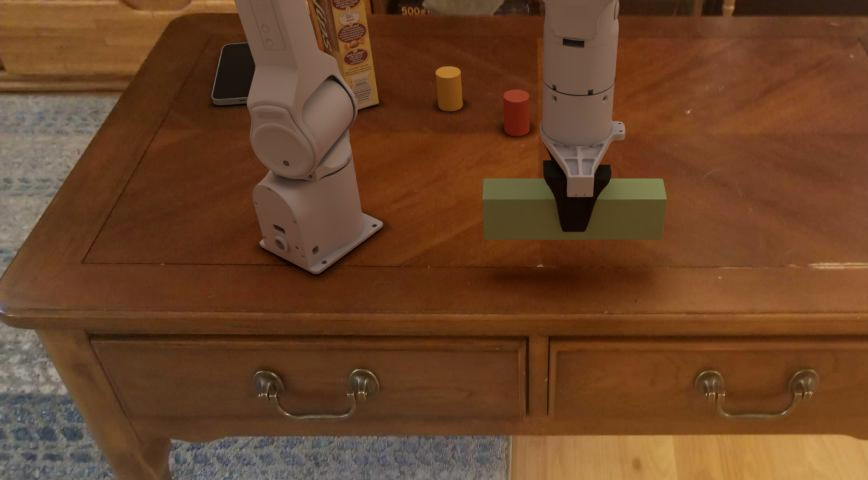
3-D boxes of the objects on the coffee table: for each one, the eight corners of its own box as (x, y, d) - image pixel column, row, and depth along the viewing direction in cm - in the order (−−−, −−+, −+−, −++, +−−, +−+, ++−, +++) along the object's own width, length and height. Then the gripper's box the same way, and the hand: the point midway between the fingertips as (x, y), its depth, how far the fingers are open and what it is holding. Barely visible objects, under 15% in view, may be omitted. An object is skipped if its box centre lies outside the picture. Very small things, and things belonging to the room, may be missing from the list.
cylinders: (520, 139, 98) (519, 104, 95) (433, 107, 103) (430, 73, 100) (534, 128, 100) (534, 93, 97) (448, 97, 105) (446, 63, 102)
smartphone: (209, 100, 102) (222, 44, 113) (211, 107, 103) (224, 50, 113) (272, 95, 103) (279, 40, 114) (274, 102, 104) (280, 46, 114)
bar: (484, 240, 76) (482, 199, 72) (485, 218, 78) (483, 178, 75) (661, 240, 76) (667, 199, 73) (657, 218, 78) (662, 178, 75)
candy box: (381, 104, 104) (364, -20, 93) (348, 114, 102) (328, -12, 91) (351, 75, 109) (332, -45, 99) (320, 84, 107) (298, -38, 97)
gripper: (638, 126, 62) (624, 268, 71) (621, 38, 72) (611, 171, 81) (541, 126, 61) (540, 268, 71) (539, 37, 72) (538, 171, 81)
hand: (572, 217), depth 76 cm, fingers closed on bar, 3 cm apart
